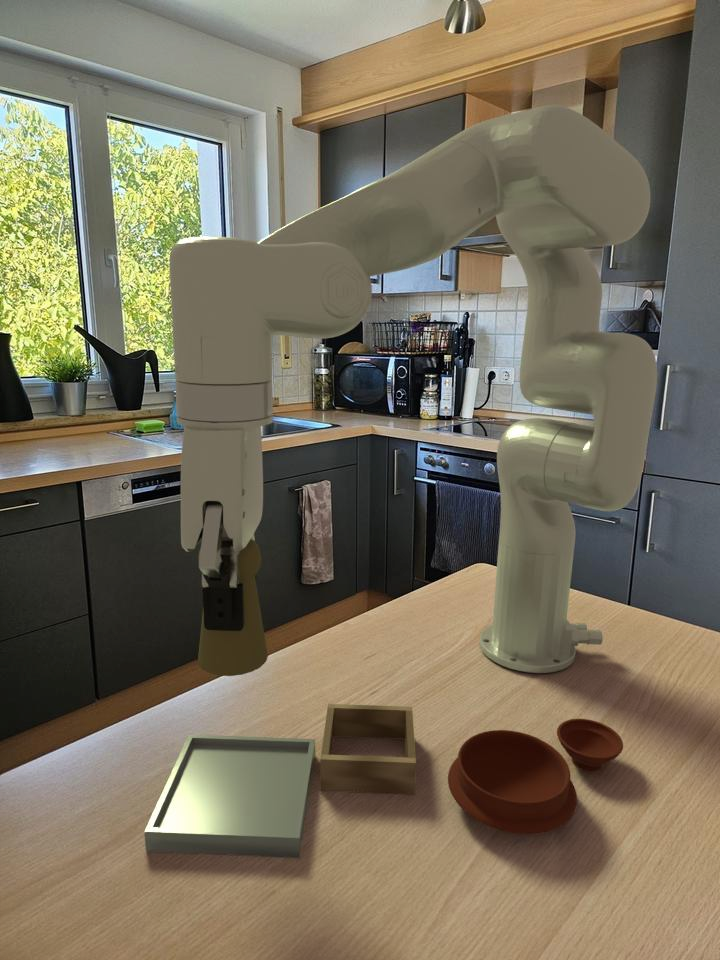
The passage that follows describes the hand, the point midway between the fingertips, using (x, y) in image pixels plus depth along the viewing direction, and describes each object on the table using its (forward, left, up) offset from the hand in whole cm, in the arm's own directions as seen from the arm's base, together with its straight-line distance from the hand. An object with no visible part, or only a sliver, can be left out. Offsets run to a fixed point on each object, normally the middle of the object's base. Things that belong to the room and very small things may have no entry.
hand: (231, 611), depth 57 cm
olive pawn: (0, 0, -5) cm, 5 cm away
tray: (0, 0, -19) cm, 19 cm away
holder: (-12, -6, -19) cm, 23 cm away
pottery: (-29, -3, -20) cm, 35 cm away
